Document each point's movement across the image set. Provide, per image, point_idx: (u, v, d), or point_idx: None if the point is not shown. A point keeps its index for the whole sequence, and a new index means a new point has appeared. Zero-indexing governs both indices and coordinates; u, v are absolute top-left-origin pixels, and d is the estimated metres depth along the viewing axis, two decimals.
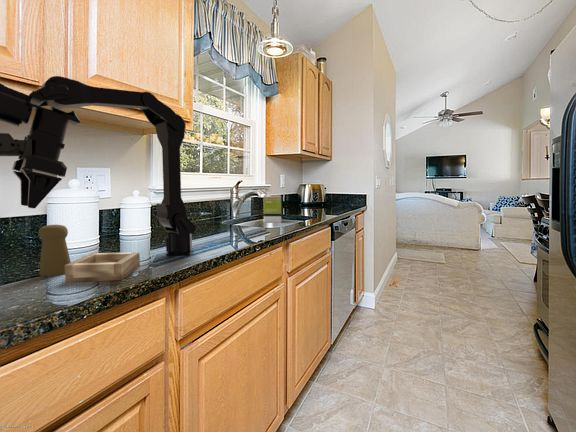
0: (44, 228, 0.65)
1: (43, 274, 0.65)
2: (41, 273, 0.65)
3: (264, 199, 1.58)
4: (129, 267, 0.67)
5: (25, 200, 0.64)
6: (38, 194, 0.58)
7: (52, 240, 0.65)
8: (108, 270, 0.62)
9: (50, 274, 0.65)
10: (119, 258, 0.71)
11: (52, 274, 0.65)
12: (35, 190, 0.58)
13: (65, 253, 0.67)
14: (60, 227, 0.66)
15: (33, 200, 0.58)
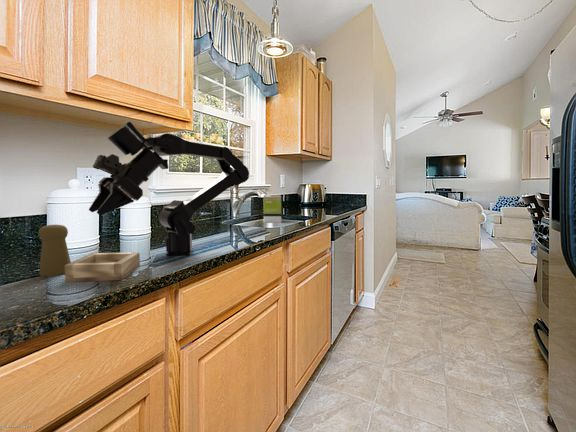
0: (44, 228, 0.65)
1: (43, 274, 0.65)
2: (41, 273, 0.65)
3: (264, 199, 1.58)
4: (129, 267, 0.67)
5: (93, 207, 0.75)
6: (110, 206, 0.69)
7: (52, 240, 0.65)
8: (108, 270, 0.62)
9: (50, 274, 0.65)
10: (119, 258, 0.71)
11: (52, 274, 0.65)
12: (110, 202, 0.69)
13: (65, 253, 0.67)
14: (60, 227, 0.66)
15: (103, 208, 0.69)
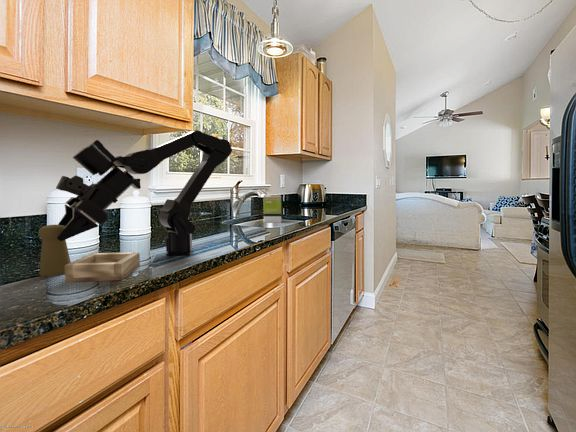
0: (44, 228, 0.65)
1: (43, 274, 0.65)
2: (41, 273, 0.65)
3: (264, 199, 1.58)
4: (129, 267, 0.67)
5: None
6: (71, 231, 0.65)
7: (52, 240, 0.65)
8: (108, 270, 0.62)
9: (50, 274, 0.65)
10: (119, 258, 0.71)
11: (52, 274, 0.65)
12: (71, 227, 0.64)
13: (65, 253, 0.67)
14: (60, 227, 0.66)
15: (64, 234, 0.64)
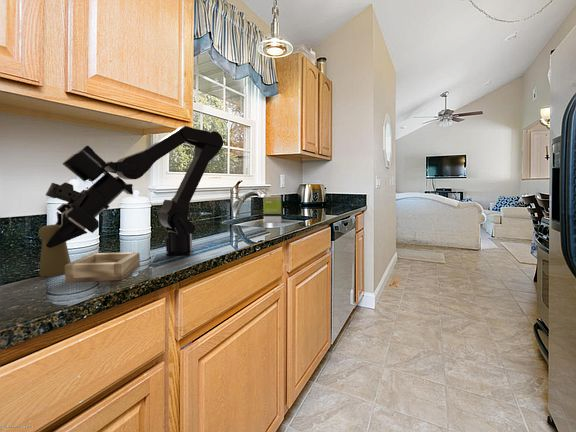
0: (44, 228, 0.65)
1: (43, 274, 0.65)
2: (41, 273, 0.65)
3: (264, 199, 1.58)
4: (129, 267, 0.67)
5: None
6: (60, 238, 0.65)
7: None
8: (108, 270, 0.62)
9: (50, 274, 0.65)
10: (119, 258, 0.71)
11: (52, 274, 0.65)
12: (60, 234, 0.65)
13: (65, 253, 0.67)
14: None
15: (53, 241, 0.64)
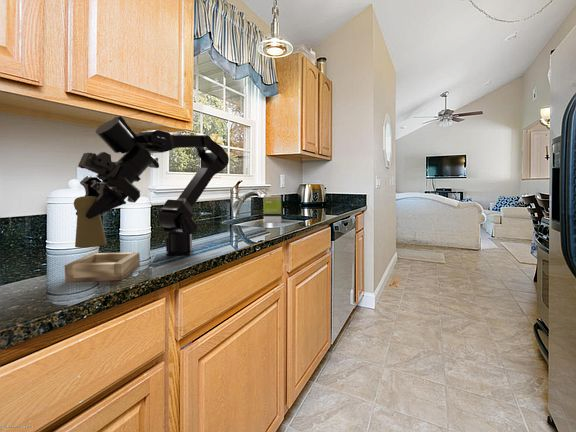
0: (81, 199, 0.63)
1: (82, 246, 0.64)
2: (79, 245, 0.64)
3: (264, 199, 1.58)
4: (129, 267, 0.67)
5: None
6: (100, 208, 0.64)
7: None
8: (108, 270, 0.62)
9: (89, 245, 0.64)
10: (119, 258, 0.71)
11: (91, 245, 0.64)
12: (100, 204, 0.64)
13: (101, 224, 0.67)
14: (96, 198, 0.65)
15: (93, 211, 0.63)
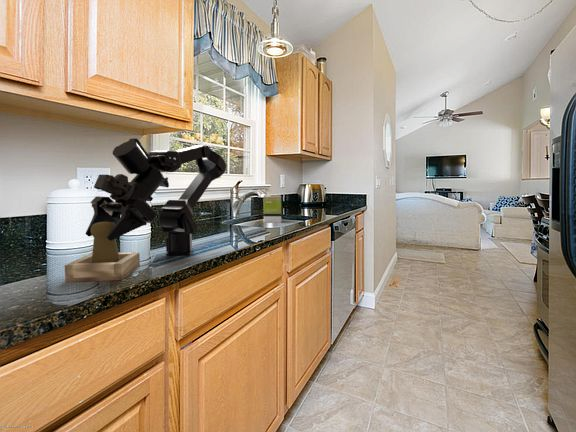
0: (99, 225, 0.64)
1: None
2: None
3: (264, 199, 1.58)
4: (129, 267, 0.67)
5: None
6: (121, 230, 0.64)
7: None
8: (108, 270, 0.62)
9: None
10: None
11: None
12: (122, 226, 0.64)
13: (117, 249, 0.68)
14: (113, 224, 0.66)
15: (115, 233, 0.63)
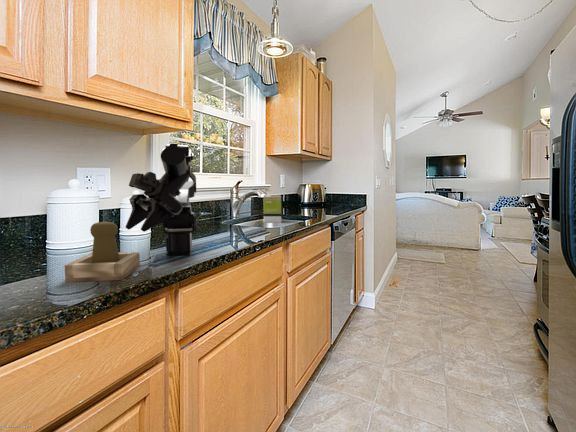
0: (99, 225, 0.64)
1: None
2: None
3: (264, 199, 1.58)
4: (129, 267, 0.67)
5: (130, 225, 0.77)
6: (152, 222, 0.72)
7: (107, 237, 0.65)
8: (108, 270, 0.62)
9: None
10: None
11: None
12: (152, 218, 0.71)
13: (117, 249, 0.68)
14: (113, 224, 0.66)
15: (147, 225, 0.71)
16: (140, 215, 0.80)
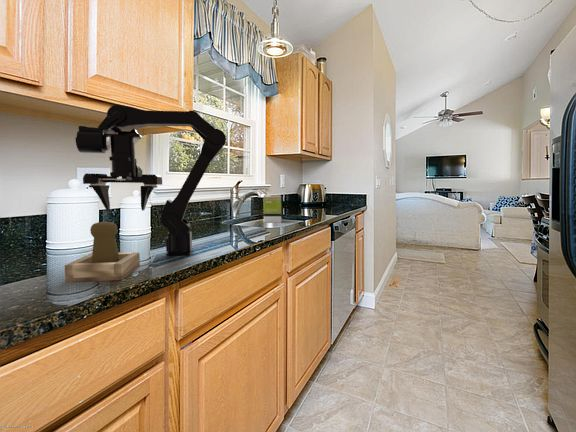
0: (99, 225, 0.64)
1: None
2: None
3: (264, 199, 1.58)
4: (129, 267, 0.67)
5: None
6: None
7: (107, 237, 0.65)
8: (108, 270, 0.62)
9: None
10: None
11: None
12: None
13: (117, 249, 0.68)
14: (113, 224, 0.66)
15: None
16: None
